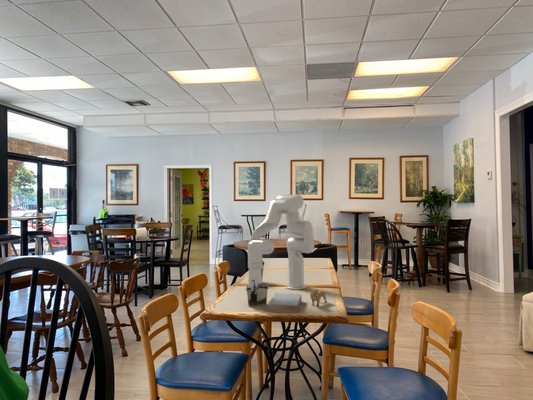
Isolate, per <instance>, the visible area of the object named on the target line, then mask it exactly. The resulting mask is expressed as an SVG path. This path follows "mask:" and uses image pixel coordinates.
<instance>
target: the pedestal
mask: <svg viewBox="0 0 533 400" xmlns="http://www.w3.org/2000/svg"><path fill="white" fill-rule="evenodd" d="M301 303H302V293H284V292H283V293H281V292H276V293H275V292H274V295H273V296H272V298H271V299H270V301H269V302H268V312H270V313H288V314H289V313H291V314H293V313H294V314H298V312H299V309H300V307H301Z"/></svg>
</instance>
